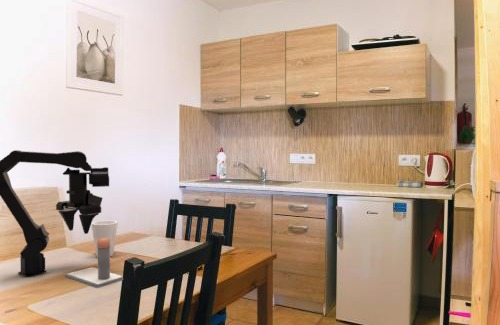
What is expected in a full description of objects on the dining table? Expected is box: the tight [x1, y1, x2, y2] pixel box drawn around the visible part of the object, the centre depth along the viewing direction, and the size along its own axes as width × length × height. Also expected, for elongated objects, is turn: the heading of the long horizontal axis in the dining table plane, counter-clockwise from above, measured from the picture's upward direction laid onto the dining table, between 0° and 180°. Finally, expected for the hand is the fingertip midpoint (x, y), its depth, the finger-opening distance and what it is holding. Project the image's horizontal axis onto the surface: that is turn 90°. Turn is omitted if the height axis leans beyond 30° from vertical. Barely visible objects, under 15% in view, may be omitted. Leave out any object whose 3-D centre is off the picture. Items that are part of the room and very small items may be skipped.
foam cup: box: [91, 220, 118, 258], centre depth 158 cm, size 10×9×13 cm
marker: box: [97, 238, 111, 280], centre depth 128 cm, size 4×4×12 cm
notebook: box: [64, 266, 123, 289], centre depth 131 cm, size 10×18×1 cm, turn 55°
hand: (78, 231), depth 140 cm, fingers open, 9 cm apart
